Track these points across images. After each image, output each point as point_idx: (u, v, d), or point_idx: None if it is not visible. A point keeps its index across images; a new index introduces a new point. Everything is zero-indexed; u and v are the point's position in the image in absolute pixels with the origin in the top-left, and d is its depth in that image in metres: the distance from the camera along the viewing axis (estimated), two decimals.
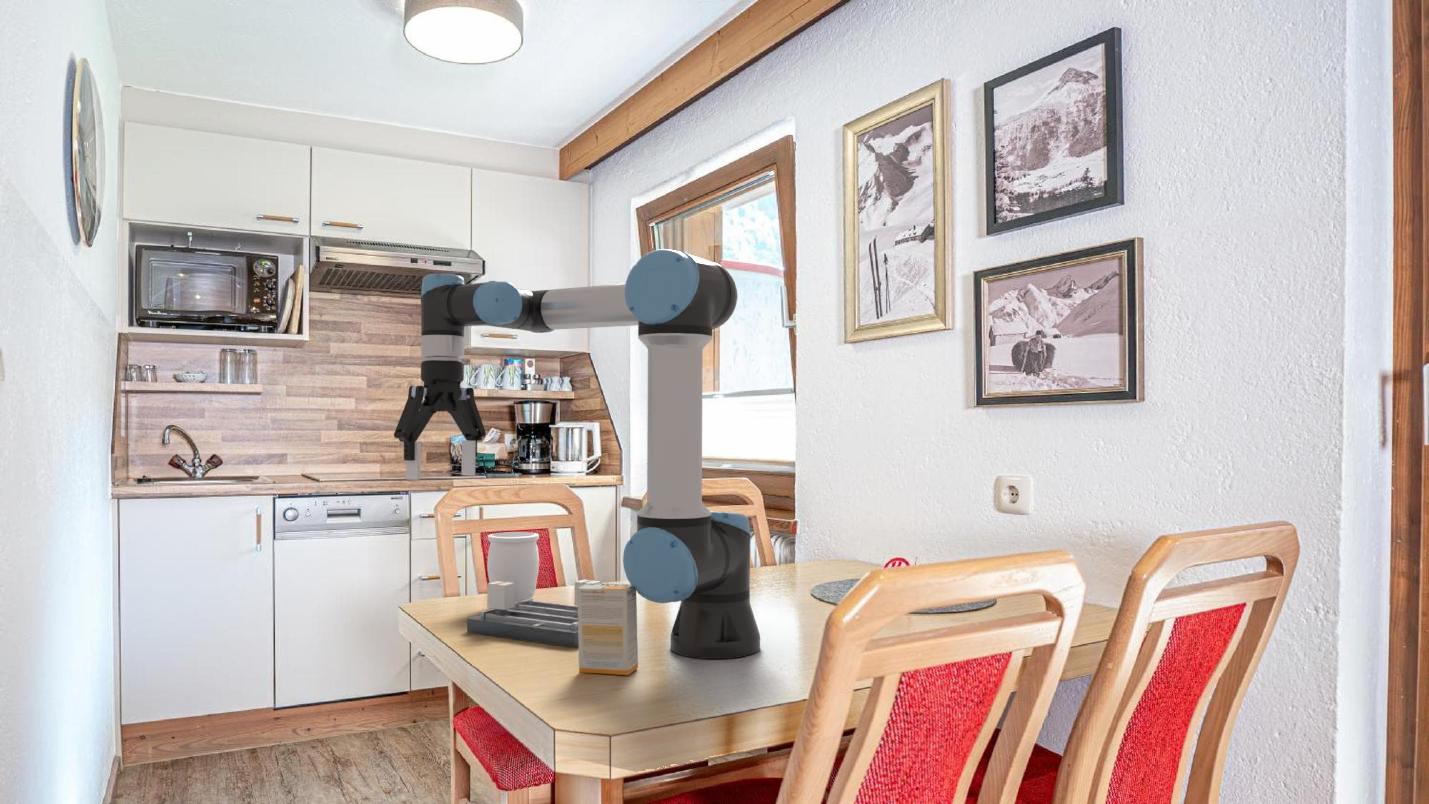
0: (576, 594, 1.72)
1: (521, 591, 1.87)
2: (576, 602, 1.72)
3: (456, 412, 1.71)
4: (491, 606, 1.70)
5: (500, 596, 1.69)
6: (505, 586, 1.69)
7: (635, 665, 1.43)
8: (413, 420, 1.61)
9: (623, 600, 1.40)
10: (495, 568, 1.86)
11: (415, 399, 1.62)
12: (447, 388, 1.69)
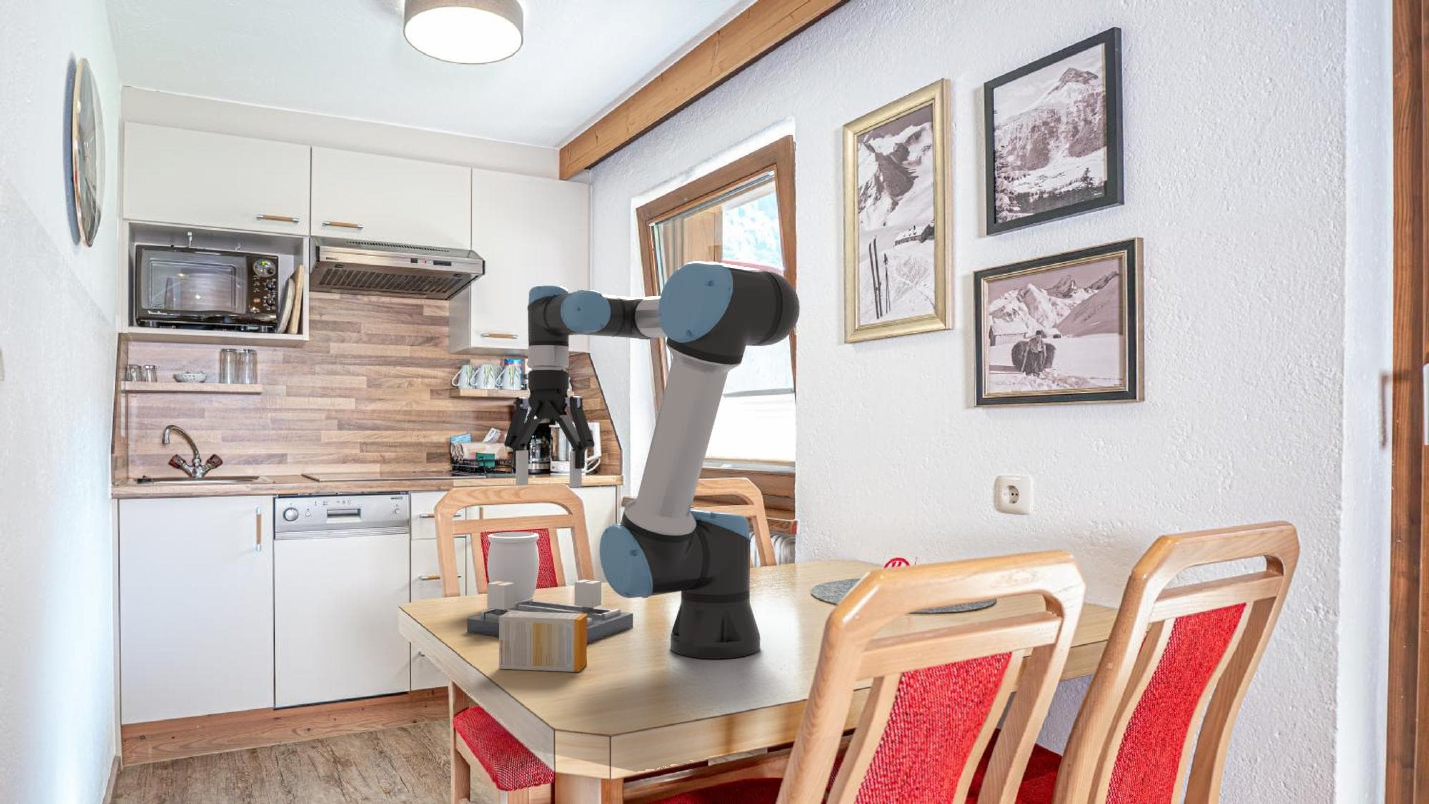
0: (576, 594, 1.72)
1: (521, 591, 1.87)
2: (576, 602, 1.72)
3: None
4: (491, 606, 1.70)
5: (500, 596, 1.69)
6: (505, 586, 1.69)
7: (581, 615, 1.45)
8: (512, 430, 1.76)
9: (508, 620, 1.44)
10: (495, 568, 1.86)
11: None
12: (545, 397, 1.73)
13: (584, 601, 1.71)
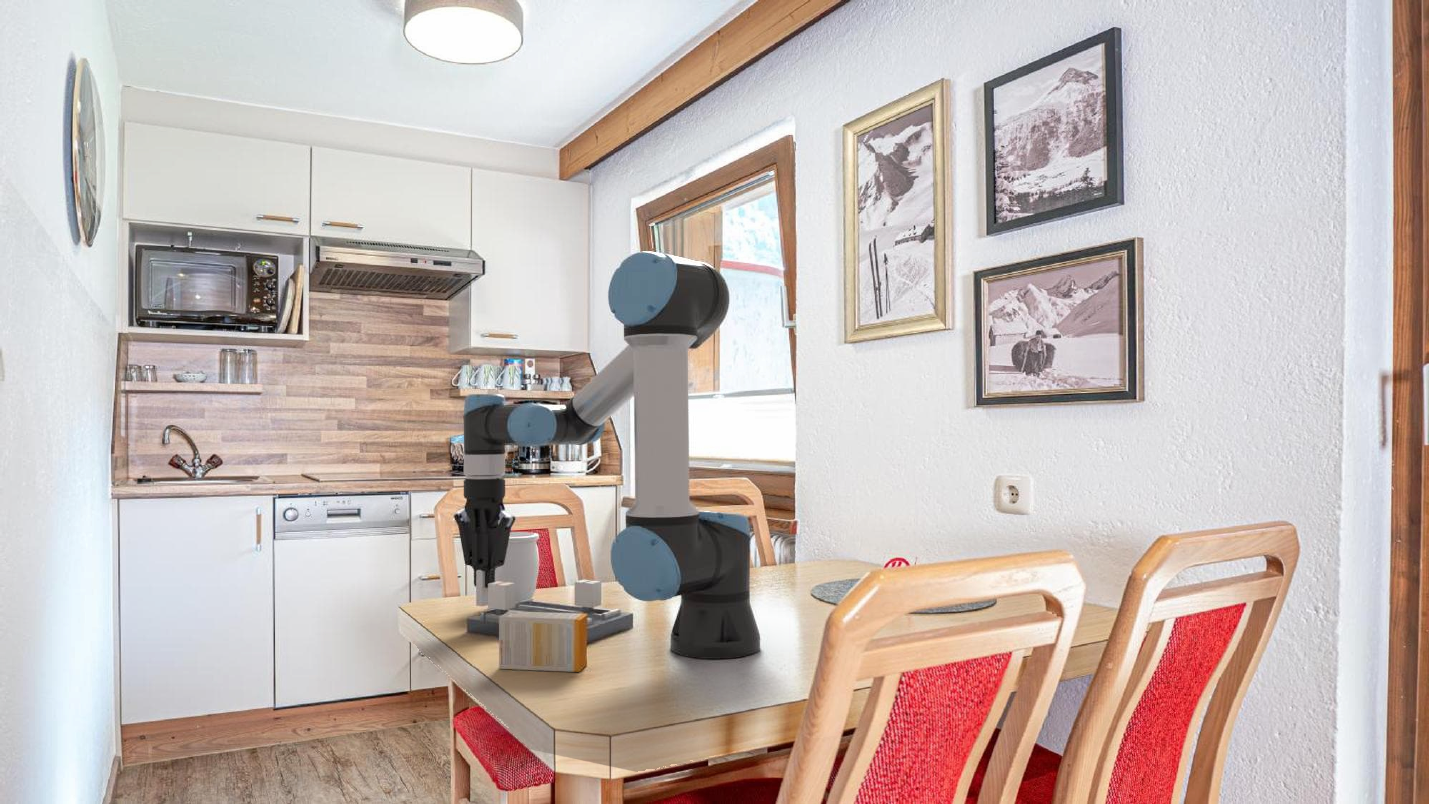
0: (576, 594, 1.72)
1: (521, 591, 1.87)
2: (576, 602, 1.72)
3: None
4: (492, 606, 1.70)
5: (500, 596, 1.69)
6: (506, 586, 1.69)
7: (581, 615, 1.45)
8: (465, 546, 1.73)
9: (508, 620, 1.44)
10: None
11: None
12: (481, 505, 1.72)
13: (584, 601, 1.71)
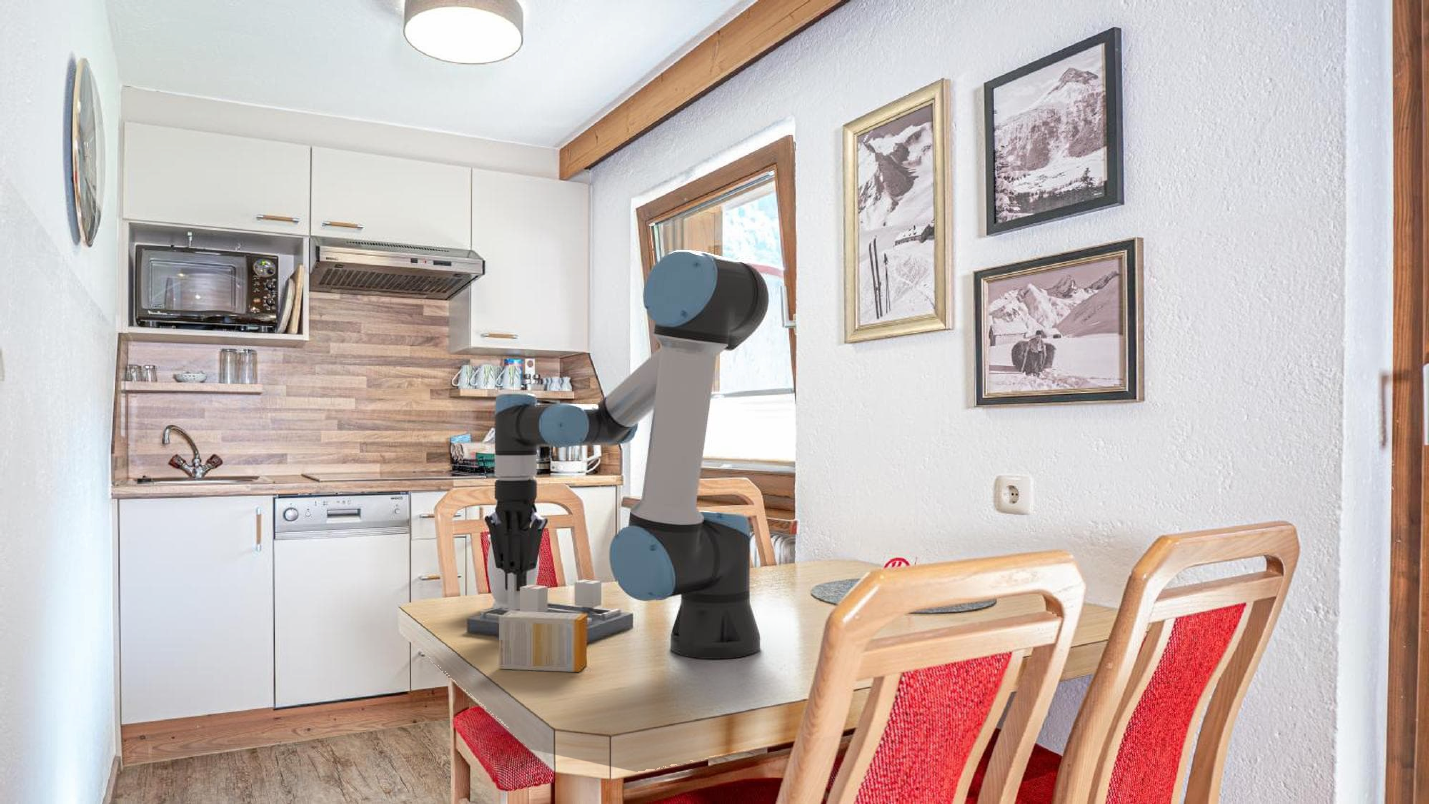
0: (576, 594, 1.72)
1: None
2: (576, 602, 1.72)
3: None
4: (524, 610, 1.66)
5: (533, 600, 1.65)
6: (538, 590, 1.65)
7: (581, 615, 1.45)
8: (496, 549, 1.70)
9: (508, 620, 1.44)
10: (495, 568, 1.86)
11: None
12: (512, 507, 1.68)
13: (584, 601, 1.71)
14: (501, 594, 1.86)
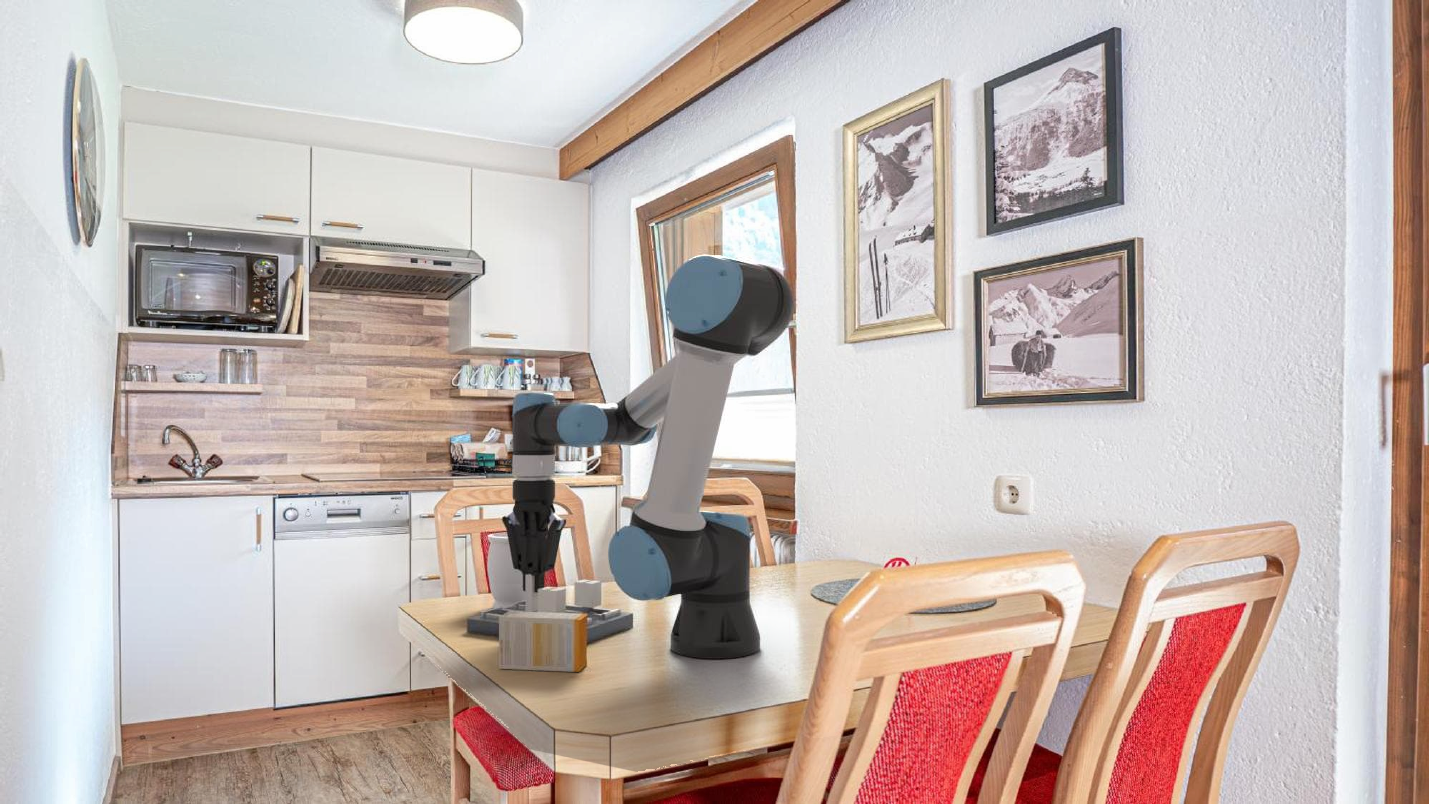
0: (576, 594, 1.72)
1: (521, 591, 1.87)
2: (576, 602, 1.72)
3: None
4: None
5: (551, 602, 1.64)
6: (557, 592, 1.63)
7: (581, 615, 1.45)
8: (514, 549, 1.68)
9: (508, 620, 1.44)
10: (495, 568, 1.86)
11: None
12: (530, 507, 1.66)
13: (584, 601, 1.71)
14: (501, 594, 1.86)
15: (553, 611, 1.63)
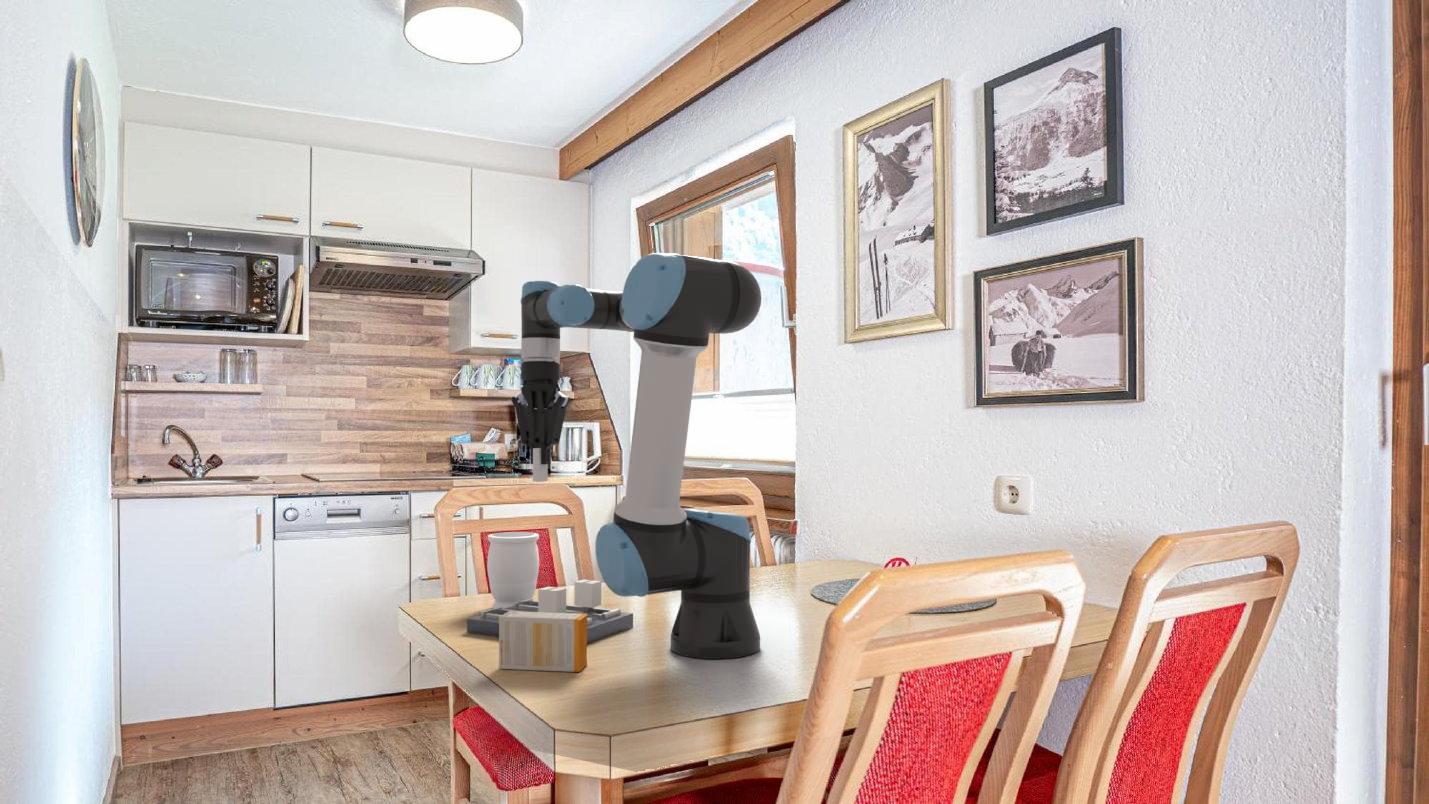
0: (576, 594, 1.72)
1: (521, 591, 1.87)
2: (576, 602, 1.72)
3: None
4: None
5: (552, 602, 1.64)
6: (557, 592, 1.63)
7: (581, 615, 1.45)
8: (522, 426, 1.83)
9: (508, 620, 1.44)
10: (495, 568, 1.86)
11: None
12: (537, 386, 1.82)
13: (584, 601, 1.71)
14: (501, 594, 1.86)
15: (553, 611, 1.63)
